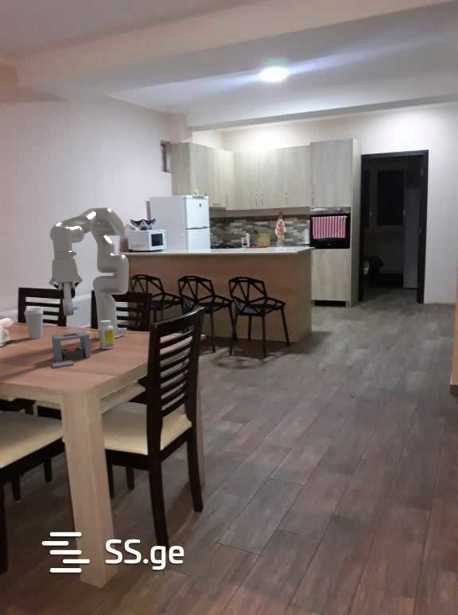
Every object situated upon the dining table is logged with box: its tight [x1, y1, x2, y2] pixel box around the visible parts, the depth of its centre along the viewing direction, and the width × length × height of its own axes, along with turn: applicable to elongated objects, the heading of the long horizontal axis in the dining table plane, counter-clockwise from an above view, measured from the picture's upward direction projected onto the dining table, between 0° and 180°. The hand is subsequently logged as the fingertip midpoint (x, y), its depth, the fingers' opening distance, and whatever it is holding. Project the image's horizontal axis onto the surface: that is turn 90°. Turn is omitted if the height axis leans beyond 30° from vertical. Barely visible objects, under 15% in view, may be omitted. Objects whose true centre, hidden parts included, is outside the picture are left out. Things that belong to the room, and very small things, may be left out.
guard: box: [51, 330, 92, 362], centre depth 219 cm, size 14×9×10 cm, turn 119°
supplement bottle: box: [98, 320, 115, 350], centre depth 234 cm, size 7×7×13 cm
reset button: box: [65, 346, 78, 352], centre depth 219 cm, size 5×5×3 cm
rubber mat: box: [50, 360, 75, 369], centre depth 208 cm, size 8×6×1 cm
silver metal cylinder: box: [61, 282, 74, 317], centre depth 216 cm, size 4×4×14 cm
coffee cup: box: [23, 307, 44, 340], centre depth 262 cm, size 10×10×15 cm
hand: (67, 298), depth 216 cm, fingers closed on silver metal cylinder, 4 cm apart
